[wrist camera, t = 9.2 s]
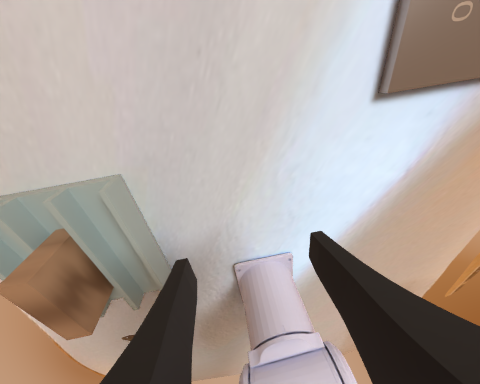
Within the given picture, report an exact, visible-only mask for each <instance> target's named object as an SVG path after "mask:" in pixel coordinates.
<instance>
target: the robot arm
mask: <svg viewBox="0 0 480 384" xmlns="http://www.w3.org/2000/svg"><path fill="white" fill-rule="evenodd" d="M309 258H310V260H311V263H312V265H313V267H314V269H315V272H316V274H317V275H318V277H319V279H320V281H321V282H322V284H323V286H324V287H325V289H326V291H327V293H328V294H329V296H330V298H331V299H332V301H333V303H334V304H335V306H336V308H337V310H338V311H339V313H340V315H341V317H342V319H343V320H344V322H345V324H346V327H347V329H348V331H349V333H350V335H351V337H352V339H353V341H354V343H355V345H356V348H357V350H358V352H359V354H360V356H361V358H362V361H363V363H364V365H365V367H366V370H367V372H368V374H369V377H370V379H371V381H372V383H373V384H480V326H478V325H476V324H473V323H471V322H469V321H467V320H465V319H463V318H460V317H458V316H456V315H454V314H452V313H450V312H448V311H446V310H444V309H442V308H440V307H438V306H436V305H434V304H432V303H430V302H428V301H426V300H425V299H423V298H421V297H419V296H417V295H415V294H413V293H411V292H410V291H408V290H406V289H404V288H403V287H401V286H399V285H397V284H396V283H394V282H392V281H391V280H389V279H387V278H386V277H384V276H383V275H381V274H379V273H378V272H376V271H375V270H373V269H372V268H370V267H369V266H367V265H366V264H364V263H363V262H362V261H360V260H359V259H357V258H356V257H355V256H353V255H352V254H351V253H349V252H348V251H346V250H345V249H344V248H342V247H341V246H340V245H339V244H337V243H336V242H335V241H333V240H332V239H331V238H330V237H328V236H327V235H326V234H324V233H323V232H322V231H318V232H313V233H311V236H310V248H309ZM234 268H235V272H236V276H237V281H238V285H239V289H240V293H241V297H242V301H243V303H244V306H245V313H246V319H247V326H248V333H249V339H250V346H251V351H250V352H248V358H249V363H248V364H245V365H244V367H243V370H242V373H241V375H240V380H239V384H357V382H356V380H355V378H354V376H353V373H352V371H351V369H350V368H349V365H348V364H347V362H346V360H345V358H344V356H343V355H342V353H341V352H340V350H339V349H338V348H337V347H336V346H334V345H333V344H331V343H330V342H329V341H326V342H323V341H322V339H321V337H320V334H319V332H315V330H314V328H313V325H312V323H311V320H310V318H309V316H308V313H307V311H306V308H305V306H304V304H303V301H302V299H301V296H300V294H299V292H298V289H297V287H296V284H295V282H294V280H293V255H292V254H291V253H285V254H280V255H275V256H271V257H266V258H261V259H256V260H251V261H247V262H242V263H237V264H235V265H234ZM196 305H197V279H196V277H195V274H194V272H193V270H192V268H191V265H190V263H189V261H188V258H186V259H181V260H177V261H176V262H175V264H174V266H173V268H172V270H171V272H170V274H169V276H168V278H167V280H166V282H165V284H164V286H163V288H162V290H161V292H160V294H159V295H158V297H157V299H156V301H155V303H154V304H153V306H152V308H151V310H150V311H149V313H148V315H147V316H146V318H145V320H144V321H143V323H142V325H141V326H140V328H139V329H138V331H137V332H136V334H135V335H134V337H133V338H132V340H131V341H130V343H129V344H128V346H127V347H126V349H125V350H124V352H123V353H122V354H121V356H120V357H119V358H118V360H117V361H116V363H115V364H114V365H113V367H112V368H111V369H110V371H109V372H108V373H107V375H106V376H105V377H104V379H103V380H102V381H101V383H100V384H191V368H192V345H193V335H194V325H195V315H196Z"/></svg>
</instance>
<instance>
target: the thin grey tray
mask: <svg viewBox="0 0 480 384" xmlns="http://www.w3.org/2000/svg"><path fill="white" fill-rule="evenodd" d="M476 78H480V0H399V4H398V8H397V12H396V17H395V21H394V26H393V30H392V35H391V39H390V43H389V48H388V52H387V57H386V61H385V65H384V70H383V74H382V79H381V83H380V87H379V92H378V93H392V92H398V91H404V90H410V89H416V88H422V87H428V86H434V85H440V84H446V83H452V82H458V81H464V80H470V79H476Z"/></svg>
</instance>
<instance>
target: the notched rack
mask: <svg viewBox="0 0 480 384" xmlns="http://www.w3.org/2000/svg"><path fill="white" fill-rule="evenodd" d="M63 228H64V229H65V230H66V231H67V232H68V234H69V235H70V236H71V237H72V238H73V240H74V241H75V242H76V243H77V244H78V245H79V247H80V248H81V249H82V250H83V251H84V252H85V254H86V255H87V256H88V257H89V258H90V259H91V261H92V262H93V263H94V264H95V265H96V266H97V268H98V269H99V270H100V271H101V272H102V274H103V275H104V276H105V277H106V278H107V279H108V281H109V282H110V283H111V284H112V285H113V286H114V288H113V290H112V293H111V295H110V297H109V299H108V301H107V303H106V305H105V308H104V310H103V312H102V314H101V316H100V317H104V315H105V313H106V310H107V308H108V306H109V304H110V302H111V300H114V299H119V298H124V299H125V300H126V302H127V303H128V304H129V305H130V306H131V307H132V309H133V310H138V309H139V307H140V304H141V301H142V298H143V294H144V293H147V292H152V291H157V290H162V288H163V286H164V284H165V282H166V280H167V278H168V276H169V274H170V272H171V268H170V266H169V264H168V263H167V261H166V259H165V257H164V255H163V253H162V251H161V249H160V247H159V246H158V244H157V242H156V240H155V238H154V236H153V234H152V232H151V231H150V229H149V227H148V225H147V223H146V221H145V219H144V217H143V215H142V214H141V212H140V210H139V208H138V206H137V204H136V202H135V200H134V198H133V197H132V195H131V193H130V191H129V189H128V187H127V185H126V183H125V181H124V180H123V178H122V176H121V174H119V175H114V176H108V177H103V178H97V179H92V180H86V181H81V182H76V183H70V184H65V185H59V186H54V187H48V188H43V189H37V190H32V191H26V192H21V193H16V194H10V195H5V196H0V279H2V280H4V279H5V278H6V277H8V276H9V275H10V274H11V273H12V272H13V271H14V270H15V269H16V268H17V267H18V266H19V265H20V264H21V263H22V262H23V261H24V260H25V259H26V258H27V257H28V256H29V255H30V254H31V253H32V252H33V251H34V250H35V249H36V248H37V247H39V246H40V245H41V244H42V243H43V242H44V241H45V240H46V239H47V238H48V237H49V236H50V235H51V234H52V233H53V232H54V231H55V230H57V229H63Z"/></svg>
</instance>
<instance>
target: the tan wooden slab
mask: <svg viewBox="0 0 480 384" xmlns="http://www.w3.org/2000/svg"><path fill="white" fill-rule="evenodd" d="M113 288H114V286H113V285H112V284H111V283H110V282H109V281H108V279H107V278H106V277H105V276H104V275H103V274H102V272H101V271H100V270H99V269H98V268H97V266H96V265H95V264H94V263H93V262H92V261H91V259H90V258H89V257H88V256H87V255H86V254H85V252H84V251H83V250H82V249H81V248H80V247H79V245H78V244H77V243H76V242H75V241H74V240H73V238H72V237H71V236H70V235H69V234H68V232H67V231H66V230H65V229H64V228H63V229H57V230H55V231H54V232H53V233H52V234H51V235H50V236H49V237H48V238H47V239H46V240H45V241H44V242H43V243H42V244H41V245H40V246H39V247H37V248H36V249H35V250H34V251H33V252H32V253H31V254H30V255H29V256H28V257H27V258H26V259H25V260H24V261H23V262H22V263H21V264H20V265H19V266H18V267H17V268H16V269H15V270H14V271H13V272H12V273H11V274H10V275H9V276H8V277H6V278H5V279H4V280H3V281H2V282H1V283H0V294H1V295H2V296H3V297H5V298H6V299H8V300H9V301H11V302H12V303H14V304H15V305H16V306H18V307H19V308H21V309H22V310H24V311H25V312H27V313H28V314H30V315H31V316H33V317H34V318H35V319H37V320H38V321H40V322H41V323H43V324H44V325H46V326H47V327H49V328H50V329H52V330H53V331H54V332H56V333H57V334H59V335H60V336H62V337H63V338H65V339H66V340H70V339H75V338H79V337H84V336H89V335H92V333H93V331H94V329H95V327H96V325H97V323H98V320H99V318H100V316H101V314H102V312H103V310H104V308H105V305H106V303H107V301H108V299H109V297H110V295H111V293H112V290H113Z"/></svg>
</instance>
